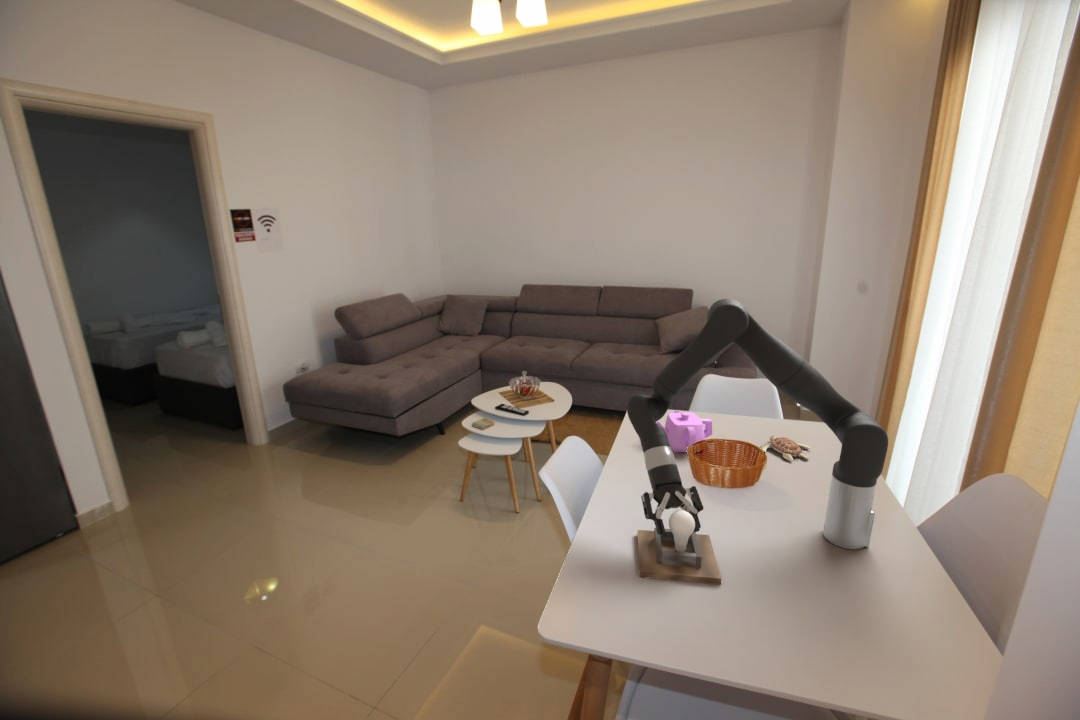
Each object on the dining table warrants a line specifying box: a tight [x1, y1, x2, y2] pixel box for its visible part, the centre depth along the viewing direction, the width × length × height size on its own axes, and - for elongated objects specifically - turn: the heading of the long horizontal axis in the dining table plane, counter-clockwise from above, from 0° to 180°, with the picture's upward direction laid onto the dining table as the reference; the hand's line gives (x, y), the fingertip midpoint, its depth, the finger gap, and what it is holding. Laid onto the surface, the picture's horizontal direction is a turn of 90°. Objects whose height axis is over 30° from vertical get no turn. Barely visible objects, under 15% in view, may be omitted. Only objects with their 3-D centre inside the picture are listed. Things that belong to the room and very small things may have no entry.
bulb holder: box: [636, 527, 722, 585], centre depth 117 cm, size 18×16×4 cm
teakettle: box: [656, 409, 713, 454], centre depth 176 cm, size 17×17×12 cm
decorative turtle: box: [759, 435, 811, 461], centre depth 170 cm, size 18×17×5 cm
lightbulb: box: [668, 509, 695, 552], centre depth 116 cm, size 6×6×11 cm
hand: (680, 533), depth 114 cm, fingers open, 8 cm apart
